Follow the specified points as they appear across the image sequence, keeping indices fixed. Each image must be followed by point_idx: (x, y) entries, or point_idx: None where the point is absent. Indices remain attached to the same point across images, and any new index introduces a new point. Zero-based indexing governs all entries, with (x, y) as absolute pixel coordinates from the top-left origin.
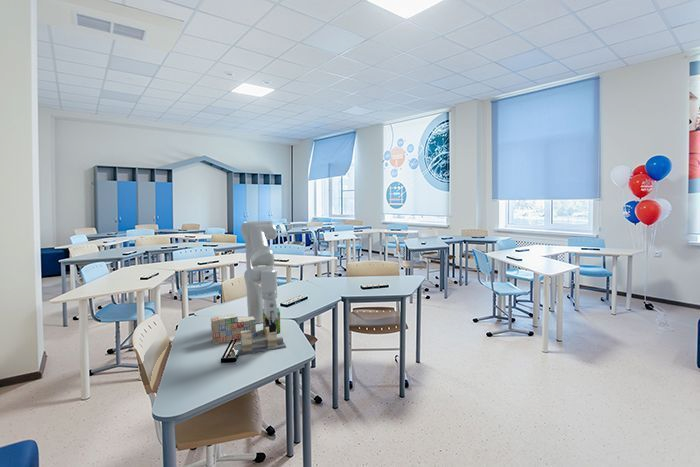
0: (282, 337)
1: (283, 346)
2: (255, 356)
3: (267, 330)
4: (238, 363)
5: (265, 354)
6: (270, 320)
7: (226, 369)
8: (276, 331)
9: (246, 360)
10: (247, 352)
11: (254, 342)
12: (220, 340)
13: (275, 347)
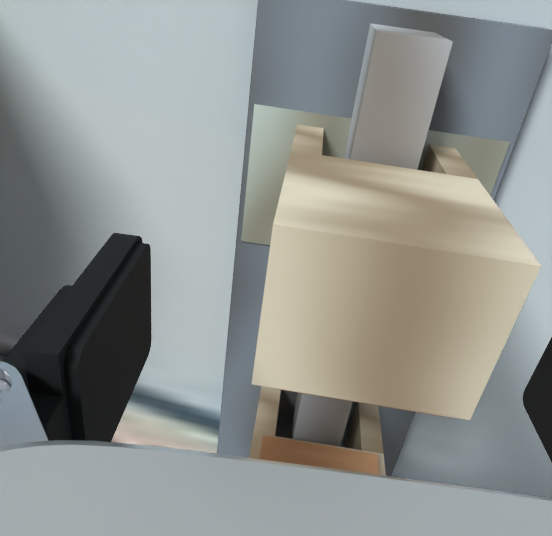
0: (409, 37)
1: (538, 71)
2: (509, 398)
3: (445, 410)
4: None
5: (543, 318)
6: (116, 331)
7: None
8: (522, 244)
9: (529, 468)
10: (402, 440)
11: (333, 410)
12: None
13: (497, 189)
